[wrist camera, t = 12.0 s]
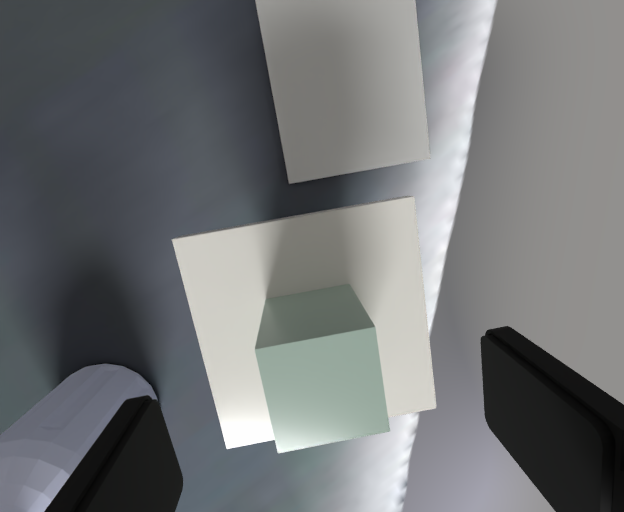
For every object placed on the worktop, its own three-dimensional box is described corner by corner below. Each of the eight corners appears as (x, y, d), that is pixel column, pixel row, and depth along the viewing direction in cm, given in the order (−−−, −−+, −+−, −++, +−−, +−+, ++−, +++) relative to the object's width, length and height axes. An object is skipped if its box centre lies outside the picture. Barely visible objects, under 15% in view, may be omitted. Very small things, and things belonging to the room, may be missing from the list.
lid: (179, 236, 16) (115, 265, 10) (406, 195, 16) (472, 201, 10) (230, 434, 18) (202, 551, 13) (428, 396, 19) (492, 493, 13)
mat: (248, -35, 25) (248, -38, 25) (407, -60, 26) (409, -64, 25) (289, 183, 29) (289, 183, 28) (428, 159, 29) (430, 158, 28)
